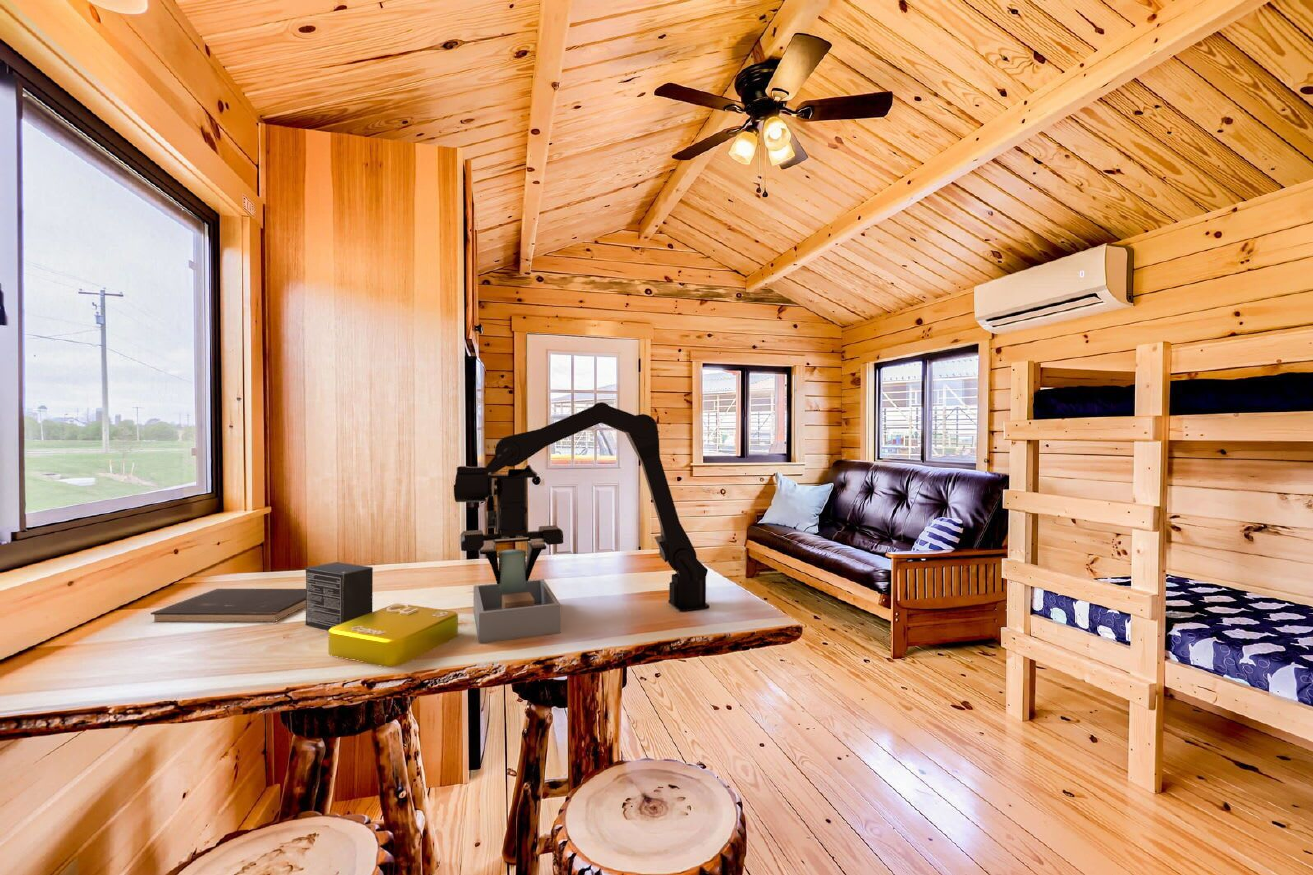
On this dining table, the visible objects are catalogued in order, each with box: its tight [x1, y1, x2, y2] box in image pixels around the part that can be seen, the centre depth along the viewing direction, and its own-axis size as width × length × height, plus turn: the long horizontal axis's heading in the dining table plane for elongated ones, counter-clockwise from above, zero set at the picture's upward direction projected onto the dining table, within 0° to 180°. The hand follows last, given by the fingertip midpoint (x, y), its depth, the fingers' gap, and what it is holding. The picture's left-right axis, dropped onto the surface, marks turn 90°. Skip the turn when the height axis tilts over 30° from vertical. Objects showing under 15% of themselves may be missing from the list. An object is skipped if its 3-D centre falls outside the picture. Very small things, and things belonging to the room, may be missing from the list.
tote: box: [473, 578, 561, 644], centre depth 103 cm, size 14×18×5 cm
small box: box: [305, 561, 374, 631], centre depth 102 cm, size 11×6×10 cm, turn 65°
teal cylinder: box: [498, 548, 527, 592], centre depth 107 cm, size 5×5×7 cm
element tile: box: [327, 603, 459, 668], centre depth 93 cm, size 15×15×5 cm
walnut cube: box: [502, 592, 534, 609], centre depth 100 cm, size 5×5×5 cm
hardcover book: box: [150, 588, 306, 623], centre depth 111 cm, size 16×23×2 cm
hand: (512, 582), depth 107 cm, fingers closed on teal cylinder, 5 cm apart
